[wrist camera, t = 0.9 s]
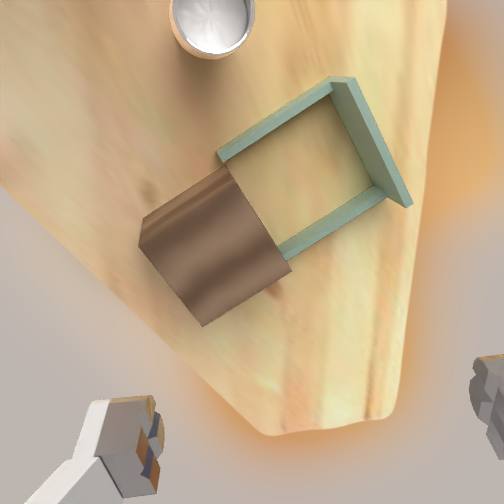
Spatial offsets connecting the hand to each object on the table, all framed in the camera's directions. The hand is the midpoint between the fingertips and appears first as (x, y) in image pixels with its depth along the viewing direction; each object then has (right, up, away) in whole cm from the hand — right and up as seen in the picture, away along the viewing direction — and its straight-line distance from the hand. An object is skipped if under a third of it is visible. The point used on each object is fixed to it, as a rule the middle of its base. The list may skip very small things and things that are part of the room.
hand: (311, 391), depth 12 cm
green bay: (+5, +14, +46) cm, 48 cm away
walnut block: (-7, +6, +47) cm, 47 cm away
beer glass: (-7, +28, +38) cm, 48 cm away
